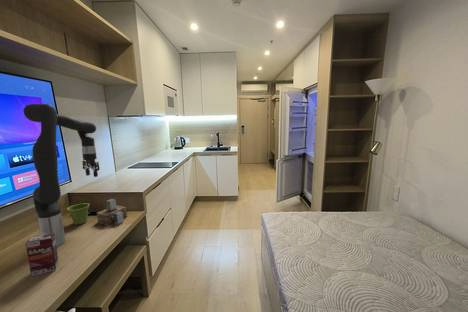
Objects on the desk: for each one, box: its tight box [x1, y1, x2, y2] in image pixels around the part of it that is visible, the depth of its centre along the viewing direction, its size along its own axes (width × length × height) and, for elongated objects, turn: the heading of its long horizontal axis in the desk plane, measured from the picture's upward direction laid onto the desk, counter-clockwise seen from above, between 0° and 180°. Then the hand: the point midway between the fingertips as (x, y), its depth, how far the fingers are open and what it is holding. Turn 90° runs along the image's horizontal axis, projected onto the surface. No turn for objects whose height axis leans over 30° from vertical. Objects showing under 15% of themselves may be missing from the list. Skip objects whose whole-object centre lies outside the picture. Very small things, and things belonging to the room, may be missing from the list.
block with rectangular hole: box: [96, 204, 128, 226], centre depth 139 cm, size 14×10×7 cm
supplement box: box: [25, 233, 59, 277], centre depth 90 cm, size 9×5×16 cm, turn 118°
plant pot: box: [66, 202, 90, 226], centre depth 135 cm, size 12×12×11 cm
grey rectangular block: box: [113, 211, 124, 225], centre depth 134 cm, size 4×4×7 cm
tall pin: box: [105, 198, 117, 222], centre depth 138 cm, size 4×4×14 cm
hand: (91, 176), depth 138 cm, fingers open, 8 cm apart
